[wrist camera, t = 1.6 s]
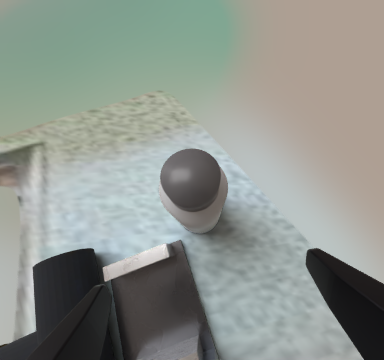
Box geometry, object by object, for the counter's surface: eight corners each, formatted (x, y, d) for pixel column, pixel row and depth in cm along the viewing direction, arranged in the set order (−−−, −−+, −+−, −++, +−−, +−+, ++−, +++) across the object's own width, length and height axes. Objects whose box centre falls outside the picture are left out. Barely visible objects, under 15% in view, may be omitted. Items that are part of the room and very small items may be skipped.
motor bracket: (238, 419, 14) (251, 495, 10) (143, 462, 14) (113, 560, 10) (180, 240, 20) (172, 237, 15) (111, 267, 19) (82, 271, 15)
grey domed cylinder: (226, 224, 20) (245, 197, 10) (186, 239, 20) (163, 228, 10) (210, 186, 22) (212, 130, 12) (173, 200, 22) (142, 155, 11)
